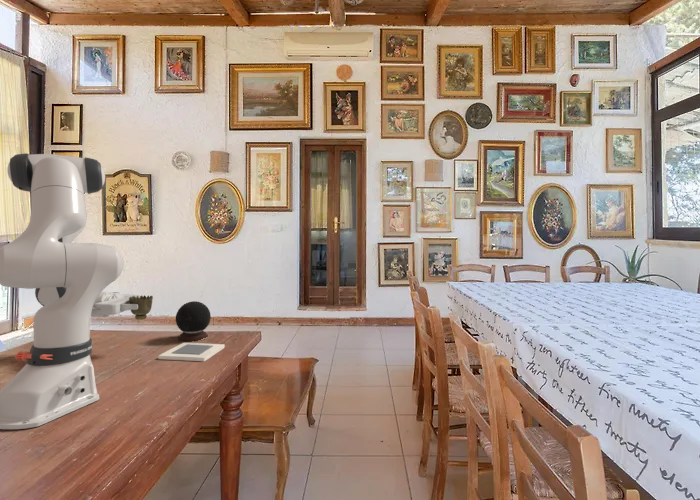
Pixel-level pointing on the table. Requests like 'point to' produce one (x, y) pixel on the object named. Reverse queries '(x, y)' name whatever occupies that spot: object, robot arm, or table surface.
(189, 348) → the tile plinth
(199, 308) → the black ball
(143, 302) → the cup
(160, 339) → the table surface
